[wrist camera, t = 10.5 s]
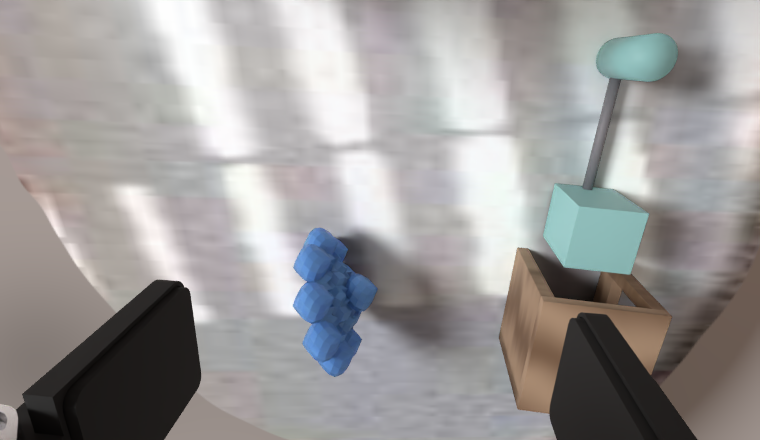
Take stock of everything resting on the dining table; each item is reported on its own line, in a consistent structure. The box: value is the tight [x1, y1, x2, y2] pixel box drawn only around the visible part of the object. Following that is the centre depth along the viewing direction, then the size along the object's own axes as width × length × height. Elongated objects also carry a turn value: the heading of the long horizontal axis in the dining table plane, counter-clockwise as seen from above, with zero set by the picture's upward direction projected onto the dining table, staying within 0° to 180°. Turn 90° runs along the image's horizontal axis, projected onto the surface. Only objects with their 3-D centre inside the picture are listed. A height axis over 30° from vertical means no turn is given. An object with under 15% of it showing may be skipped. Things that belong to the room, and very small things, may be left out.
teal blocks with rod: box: [543, 33, 678, 275], centre depth 34 cm, size 17×5×6 cm, turn 175°
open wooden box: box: [499, 248, 672, 414], centre depth 38 cm, size 10×9×10 cm
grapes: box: [293, 228, 377, 377], centre depth 38 cm, size 12×7×12 cm, turn 15°
